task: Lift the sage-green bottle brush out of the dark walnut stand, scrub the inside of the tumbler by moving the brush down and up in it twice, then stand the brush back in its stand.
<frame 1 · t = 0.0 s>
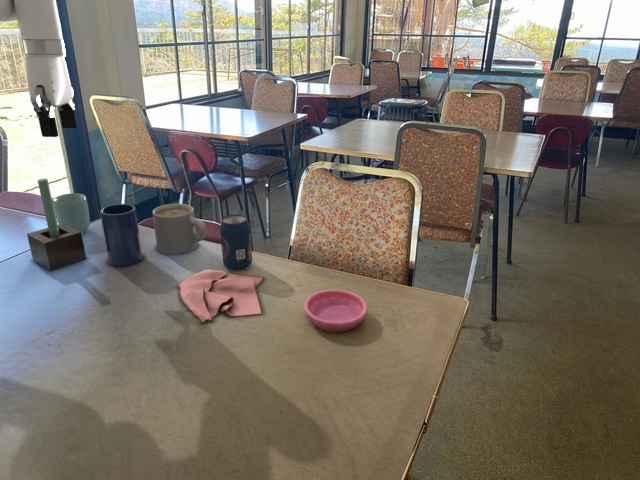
hand: (60, 132, 106), 30 cm above the table, tool pointing down, fingers open, 9 cm apart
tumbler: (125, 259, 117), on the table
cup: (76, 233, 131), on the table
cloth: (221, 297, 102), on the table
soda can: (238, 266, 115), on the table
coffee mug: (182, 248, 124), on the table
brush: (51, 221, 112), in the stand
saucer: (335, 319, 95), on the table
stand: (60, 259, 116), on the table
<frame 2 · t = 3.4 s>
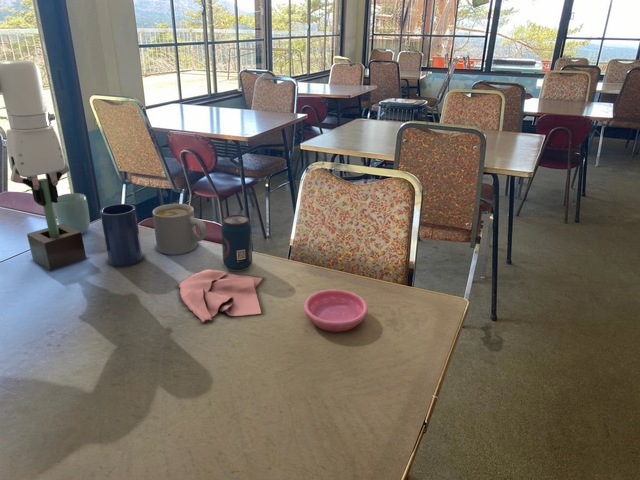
hand: (47, 202, 110), 15 cm above the table, tool pointing down, fingers closed on brush, 2 cm apart
brush: (51, 220, 112), in the stand, touching gripper
everything else where it was.
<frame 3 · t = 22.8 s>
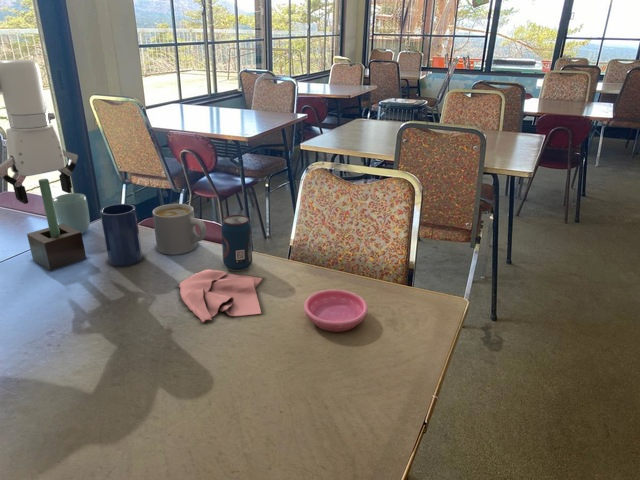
hand: (46, 196, 110), 16 cm above the table, tool pointing down, fingers open, 9 cm apart
brush: (52, 221, 112), in the stand
everything else where it was.
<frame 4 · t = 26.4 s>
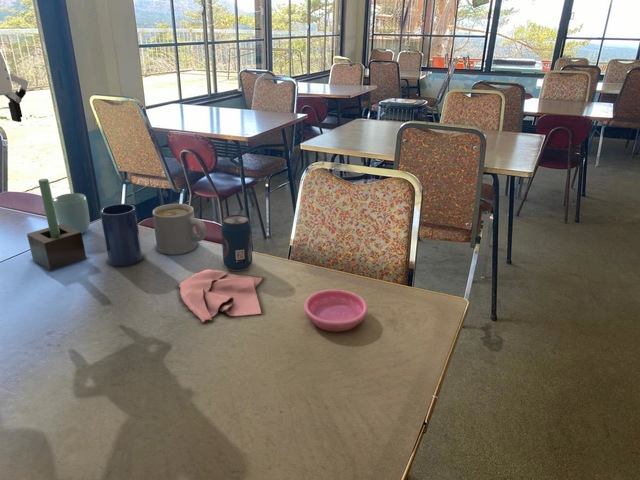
nothing on the table moved.
at the end: brush 0.2 cm off-centre in the stand, point 10.0 cm above the stand's base; brush tilted 0°; the gripper is holding nothing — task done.
